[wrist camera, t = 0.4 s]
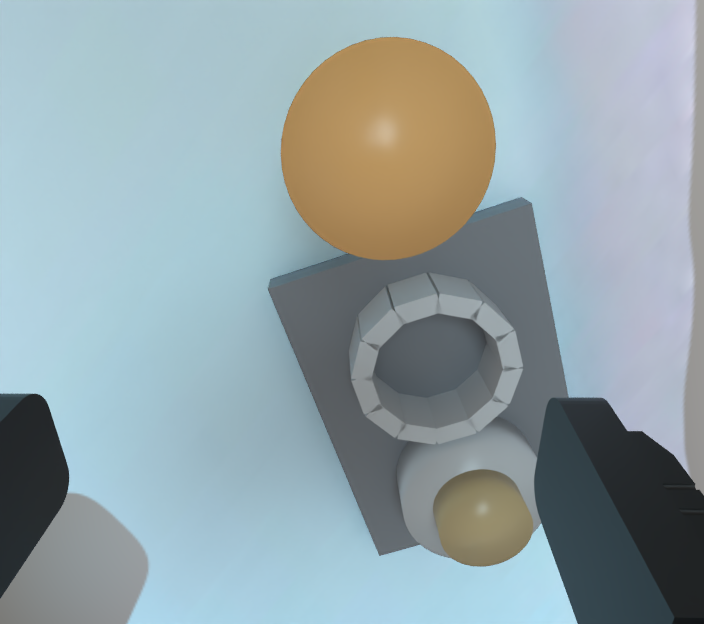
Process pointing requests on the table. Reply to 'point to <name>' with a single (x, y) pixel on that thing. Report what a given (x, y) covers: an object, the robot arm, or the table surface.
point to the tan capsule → (388, 148)
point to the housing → (435, 382)
